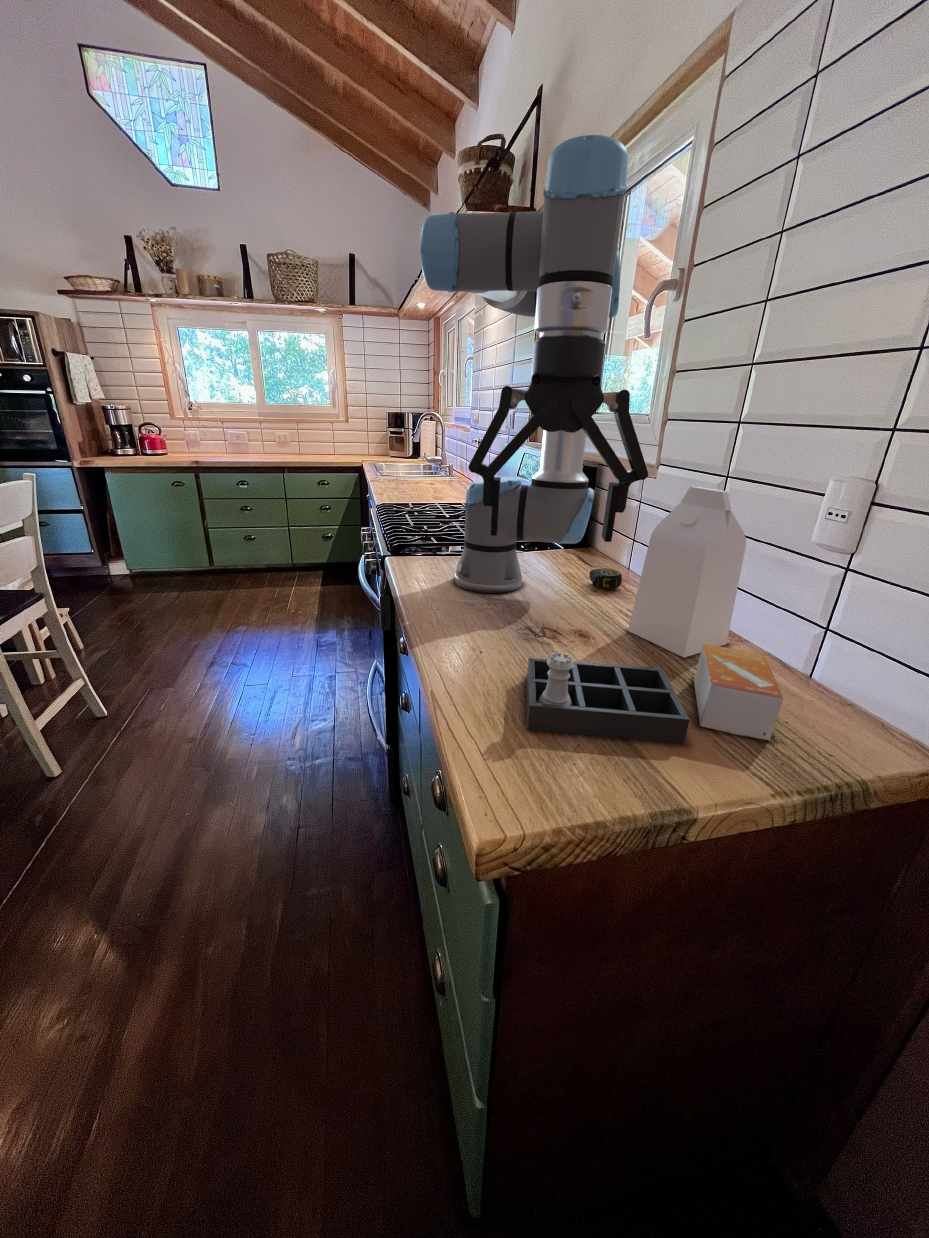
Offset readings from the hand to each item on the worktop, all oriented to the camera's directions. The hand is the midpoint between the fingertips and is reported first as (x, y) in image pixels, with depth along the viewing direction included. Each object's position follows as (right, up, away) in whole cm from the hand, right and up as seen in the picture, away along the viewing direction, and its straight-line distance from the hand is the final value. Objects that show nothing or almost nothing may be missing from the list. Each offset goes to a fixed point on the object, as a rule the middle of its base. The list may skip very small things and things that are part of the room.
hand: (549, 536), depth 61 cm
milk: (+27, -14, +28) cm, 42 cm away
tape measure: (+21, -3, +53) cm, 57 cm away
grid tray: (+7, -22, +6) cm, 24 cm away
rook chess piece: (+1, -22, +3) cm, 23 cm away
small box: (+28, -17, +12) cm, 35 cm away
